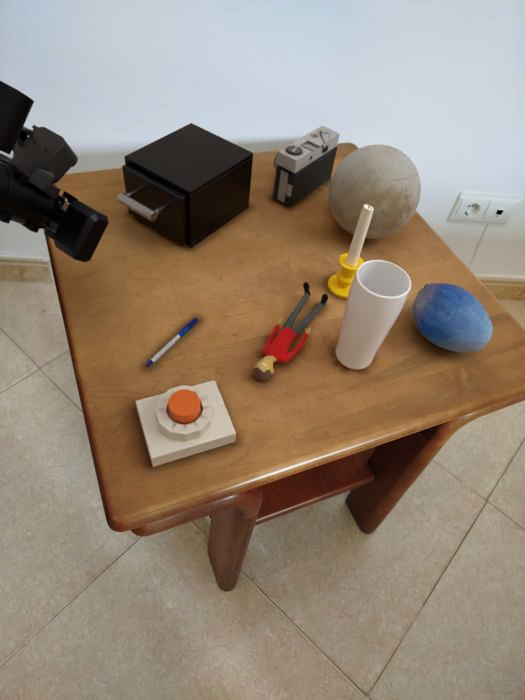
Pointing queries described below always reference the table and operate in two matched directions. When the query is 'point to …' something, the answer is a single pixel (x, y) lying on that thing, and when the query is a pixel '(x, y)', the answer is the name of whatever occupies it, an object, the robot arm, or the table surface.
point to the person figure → (286, 338)
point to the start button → (184, 406)
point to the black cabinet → (200, 176)
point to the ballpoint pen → (173, 341)
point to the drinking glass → (371, 311)
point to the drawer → (155, 203)
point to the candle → (351, 257)
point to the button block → (185, 425)
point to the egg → (451, 318)
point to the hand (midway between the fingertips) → (87, 224)
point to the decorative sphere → (375, 189)
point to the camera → (304, 165)
